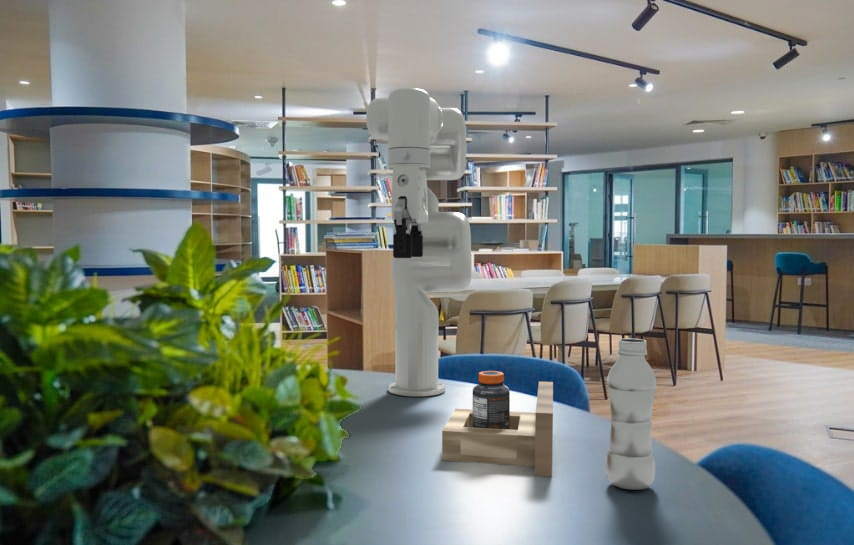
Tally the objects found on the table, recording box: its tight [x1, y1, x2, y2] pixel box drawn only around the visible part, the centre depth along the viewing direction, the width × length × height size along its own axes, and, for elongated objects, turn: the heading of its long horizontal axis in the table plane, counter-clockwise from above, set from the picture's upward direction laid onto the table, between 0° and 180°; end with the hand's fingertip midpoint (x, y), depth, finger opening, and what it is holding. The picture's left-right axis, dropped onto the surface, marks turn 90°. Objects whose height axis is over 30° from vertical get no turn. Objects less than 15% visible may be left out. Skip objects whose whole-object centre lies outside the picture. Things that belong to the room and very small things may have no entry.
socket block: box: [441, 408, 536, 467], centre depth 108 cm, size 14×14×4 cm
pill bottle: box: [472, 370, 511, 430], centre depth 108 cm, size 6×6×11 cm
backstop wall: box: [534, 381, 554, 477], centre depth 107 cm, size 22×2×9 cm, turn 169°
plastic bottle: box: [605, 338, 657, 491], centre depth 92 cm, size 6×7×20 cm
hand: (408, 257), depth 121 cm, fingers open, 9 cm apart
